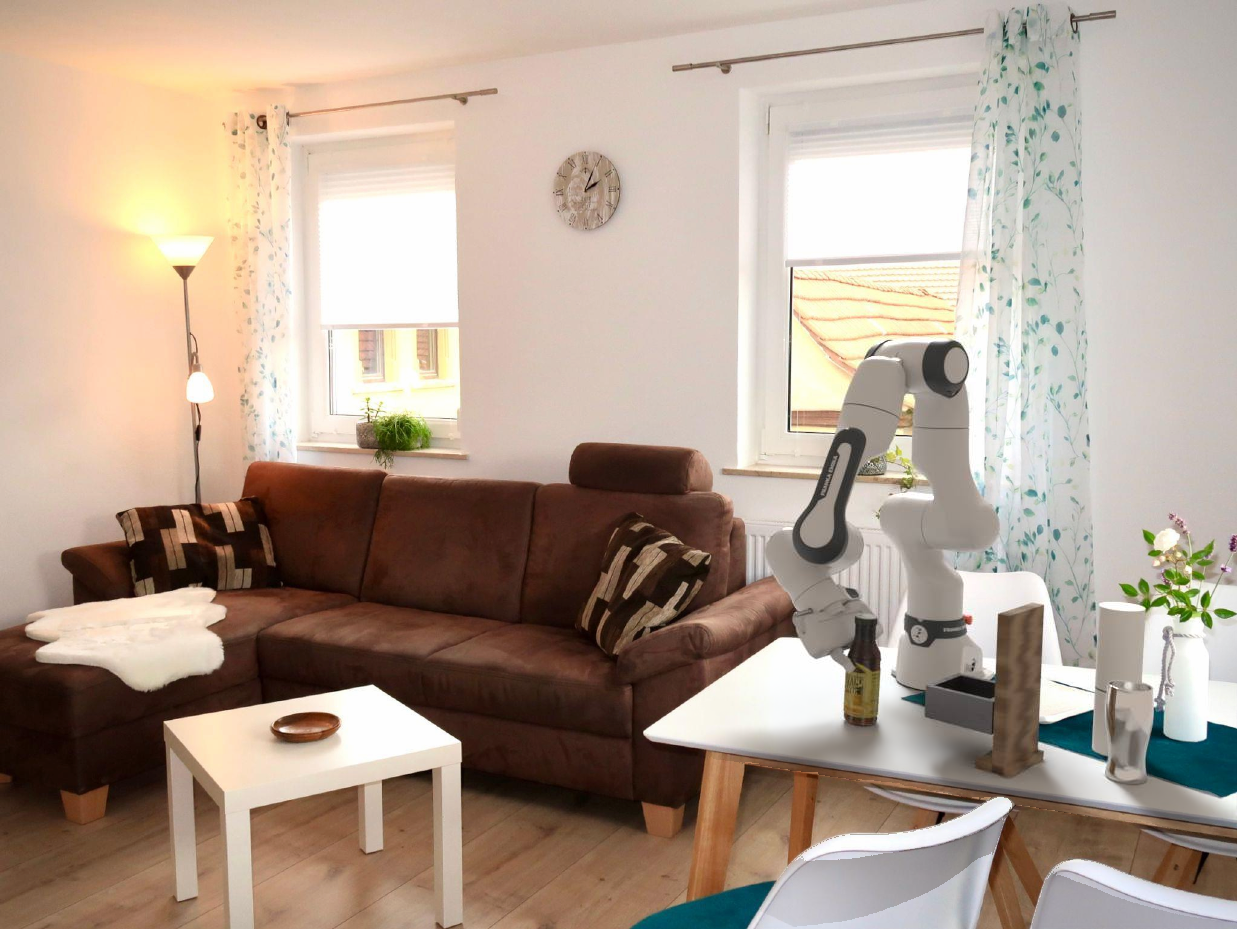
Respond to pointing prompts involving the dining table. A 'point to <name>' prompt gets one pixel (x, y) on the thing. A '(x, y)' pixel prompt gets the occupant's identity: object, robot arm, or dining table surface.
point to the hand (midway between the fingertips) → (865, 666)
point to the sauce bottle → (863, 674)
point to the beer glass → (1128, 729)
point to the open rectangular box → (962, 702)
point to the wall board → (1016, 692)
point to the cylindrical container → (1116, 658)
